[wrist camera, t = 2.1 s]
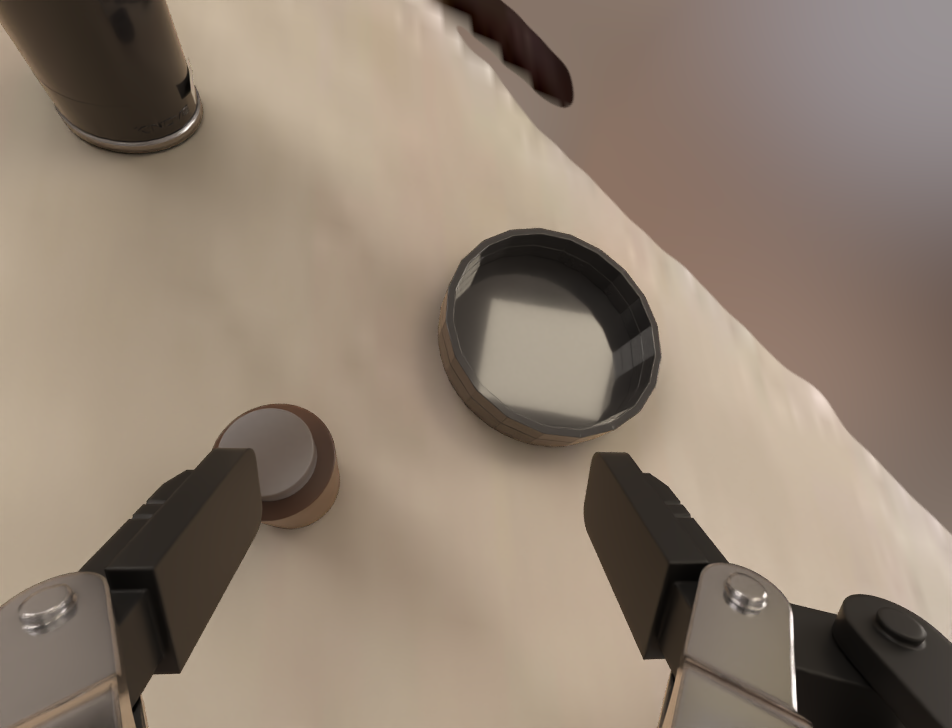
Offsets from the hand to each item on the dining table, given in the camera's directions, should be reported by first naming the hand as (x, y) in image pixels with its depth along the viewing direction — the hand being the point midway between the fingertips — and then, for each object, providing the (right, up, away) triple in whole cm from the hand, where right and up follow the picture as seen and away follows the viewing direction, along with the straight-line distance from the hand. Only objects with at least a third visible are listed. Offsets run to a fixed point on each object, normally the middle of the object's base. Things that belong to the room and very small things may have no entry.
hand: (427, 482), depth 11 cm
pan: (+7, +5, +26) cm, 27 cm away
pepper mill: (-10, -5, +17) cm, 20 cm away
